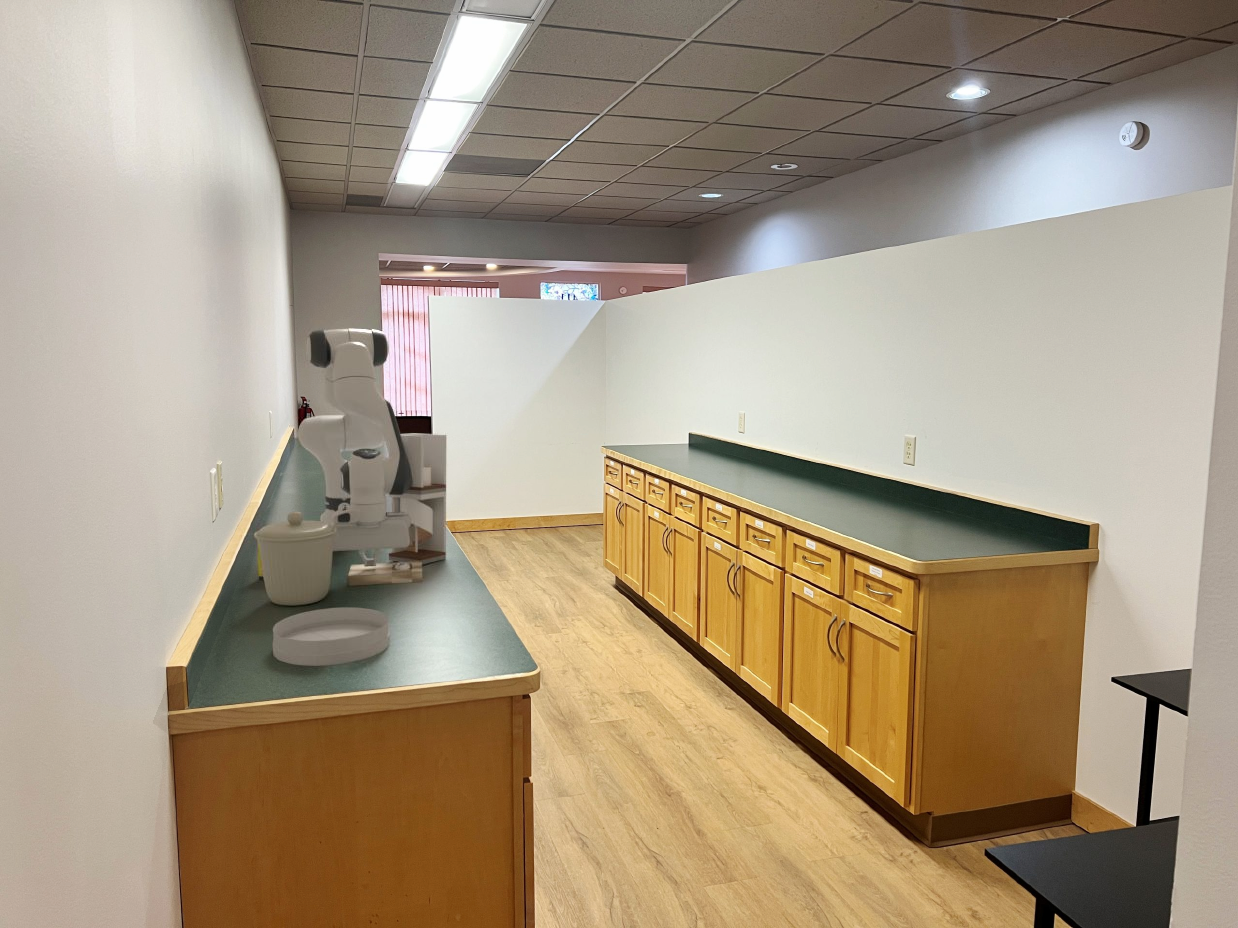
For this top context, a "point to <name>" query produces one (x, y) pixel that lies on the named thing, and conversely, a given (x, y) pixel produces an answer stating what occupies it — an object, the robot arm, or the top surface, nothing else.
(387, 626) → the dish
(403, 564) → the steel ball
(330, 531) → the canister
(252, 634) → the top surface
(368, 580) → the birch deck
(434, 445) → the display case
